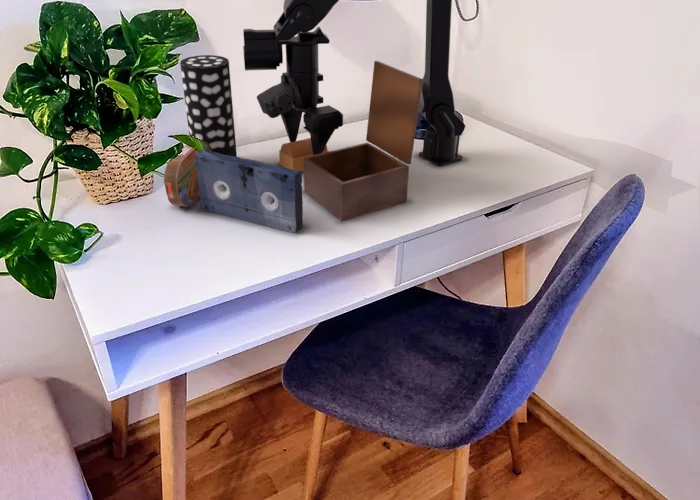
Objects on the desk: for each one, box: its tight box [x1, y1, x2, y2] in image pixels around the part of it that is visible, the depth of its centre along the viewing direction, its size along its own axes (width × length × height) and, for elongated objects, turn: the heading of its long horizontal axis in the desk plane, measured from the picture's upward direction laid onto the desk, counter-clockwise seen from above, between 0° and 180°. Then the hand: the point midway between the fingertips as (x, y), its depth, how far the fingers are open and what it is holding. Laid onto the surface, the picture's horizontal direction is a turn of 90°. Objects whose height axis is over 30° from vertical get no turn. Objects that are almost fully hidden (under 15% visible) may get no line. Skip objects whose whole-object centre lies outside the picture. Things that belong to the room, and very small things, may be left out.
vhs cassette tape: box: [195, 149, 304, 234], centre depth 100 cm, size 18×3×10 cm, turn 64°
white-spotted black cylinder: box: [179, 54, 238, 157], centre depth 114 cm, size 8×8×20 cm
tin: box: [163, 141, 212, 208], centre depth 107 cm, size 15×3×8 cm, turn 168°
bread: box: [278, 137, 330, 173], centre depth 120 cm, size 8×5×5 cm
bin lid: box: [365, 60, 423, 165], centre depth 106 cm, size 14×12×1 cm
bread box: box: [303, 142, 410, 222], centre depth 108 cm, size 13×12×7 cm
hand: (304, 150), depth 119 cm, fingers open, 9 cm apart
